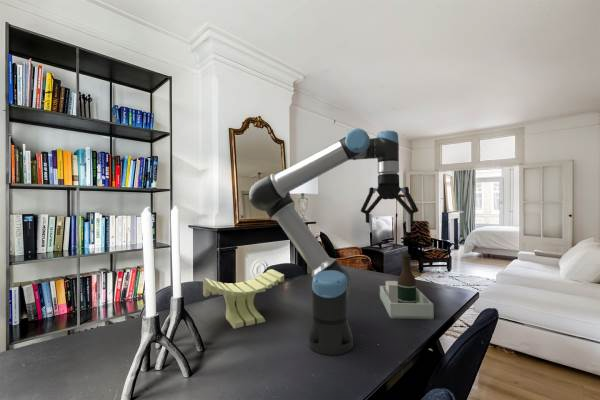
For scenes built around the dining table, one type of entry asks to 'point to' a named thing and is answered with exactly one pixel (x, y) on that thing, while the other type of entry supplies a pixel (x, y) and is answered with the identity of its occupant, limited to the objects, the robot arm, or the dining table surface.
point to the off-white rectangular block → (392, 291)
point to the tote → (408, 307)
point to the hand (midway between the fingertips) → (389, 232)
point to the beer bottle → (406, 282)
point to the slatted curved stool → (242, 297)
